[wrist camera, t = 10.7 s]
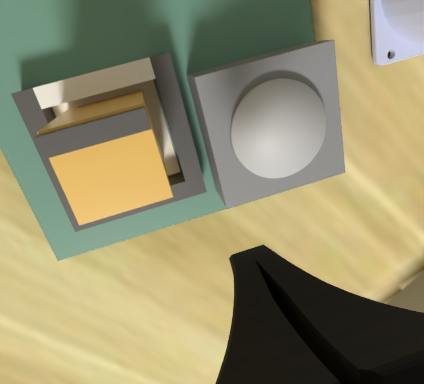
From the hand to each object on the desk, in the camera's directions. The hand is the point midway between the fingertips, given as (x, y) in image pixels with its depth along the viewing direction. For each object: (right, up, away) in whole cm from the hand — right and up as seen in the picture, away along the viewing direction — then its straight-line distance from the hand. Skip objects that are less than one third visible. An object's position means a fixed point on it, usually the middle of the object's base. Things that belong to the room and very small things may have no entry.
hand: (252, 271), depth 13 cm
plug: (-7, +6, +6) cm, 11 cm away
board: (-4, +9, +7) cm, 12 cm away
